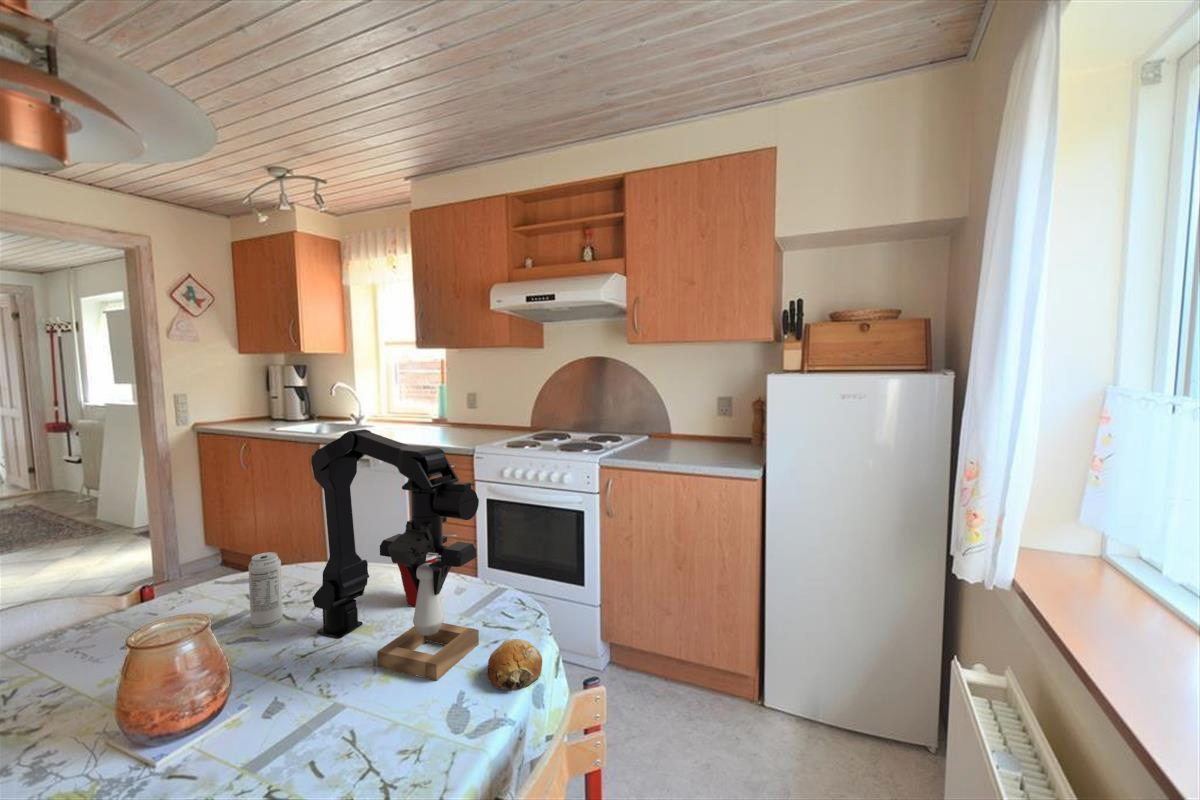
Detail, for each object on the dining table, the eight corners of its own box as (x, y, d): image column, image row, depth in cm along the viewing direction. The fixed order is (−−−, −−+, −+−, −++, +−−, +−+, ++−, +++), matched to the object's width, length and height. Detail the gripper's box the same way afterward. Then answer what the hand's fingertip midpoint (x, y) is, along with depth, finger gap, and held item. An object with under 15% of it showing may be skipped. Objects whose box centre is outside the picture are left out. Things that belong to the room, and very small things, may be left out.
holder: (377, 666, 98) (377, 651, 98) (424, 633, 110) (424, 619, 110) (436, 680, 93) (436, 664, 93) (478, 644, 106) (478, 629, 106)
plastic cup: (425, 588, 133) (423, 542, 133) (452, 599, 127) (451, 550, 126) (386, 603, 125) (384, 554, 124) (413, 616, 118) (412, 564, 118)
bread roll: (547, 690, 96) (554, 643, 99) (523, 696, 88) (532, 644, 90) (500, 680, 100) (508, 634, 103) (472, 685, 91) (482, 635, 94)
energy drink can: (286, 614, 119) (283, 550, 119) (278, 626, 114) (276, 559, 113) (255, 618, 117) (253, 553, 117) (246, 630, 112) (244, 562, 111)
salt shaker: (434, 639, 98) (433, 572, 97) (407, 636, 99) (405, 569, 99) (449, 624, 104) (448, 560, 103) (423, 622, 105) (422, 558, 104)
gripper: (356, 520, 96) (358, 602, 97) (441, 530, 90) (442, 619, 90) (399, 505, 106) (400, 580, 107) (477, 514, 100) (478, 593, 101)
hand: (428, 592), depth 101 cm, fingers closed on salt shaker, 4 cm apart
